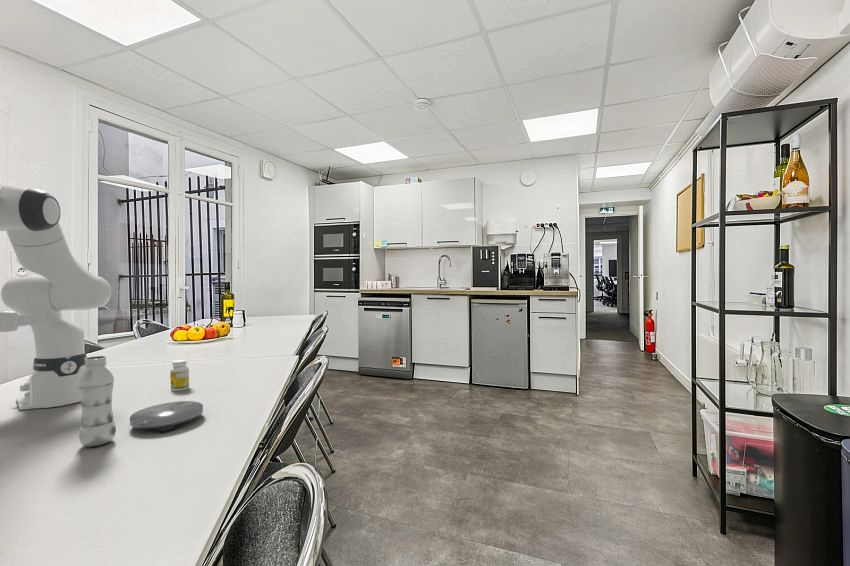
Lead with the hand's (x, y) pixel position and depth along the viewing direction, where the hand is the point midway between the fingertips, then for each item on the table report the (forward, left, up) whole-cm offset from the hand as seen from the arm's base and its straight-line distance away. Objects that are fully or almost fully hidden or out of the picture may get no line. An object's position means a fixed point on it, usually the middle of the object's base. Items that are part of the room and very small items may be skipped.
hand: (32, 319), depth 80 cm
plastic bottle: (0, +10, -30) cm, 32 cm away
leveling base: (0, +25, -30) cm, 39 cm away
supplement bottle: (-29, +43, -30) cm, 60 cm away
